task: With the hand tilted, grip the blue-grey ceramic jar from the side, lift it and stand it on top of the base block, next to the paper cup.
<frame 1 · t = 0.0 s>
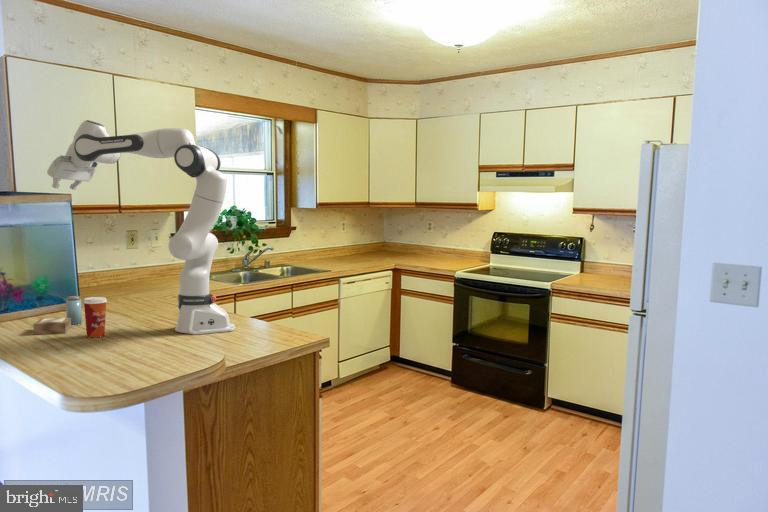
hand: (63, 188, 206), 54 cm above the counter, tool tilted 30°, fingers open, 8 cm apart
paper cup: (95, 336, 188), on the counter
base: (53, 331, 194), on the counter
jar: (74, 324, 206), on the counter
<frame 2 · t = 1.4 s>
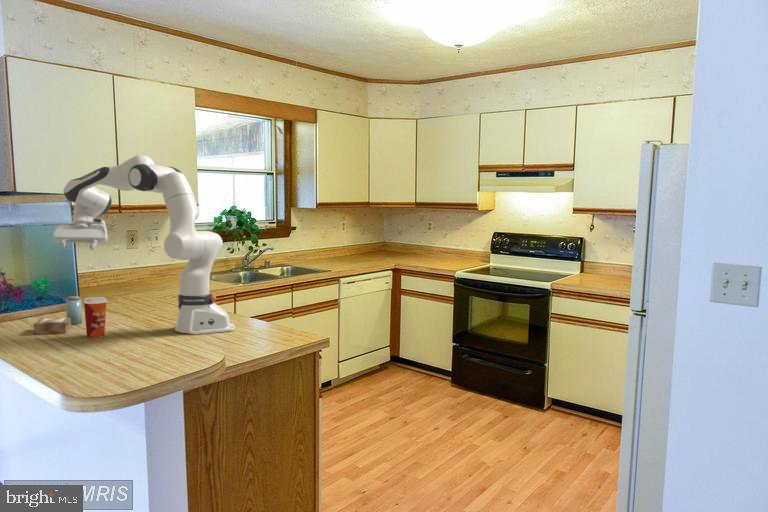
hand: (78, 248, 215), 30 cm above the counter, tool tilted 45°, fingers open, 8 cm apart
nothing on the counter moved.
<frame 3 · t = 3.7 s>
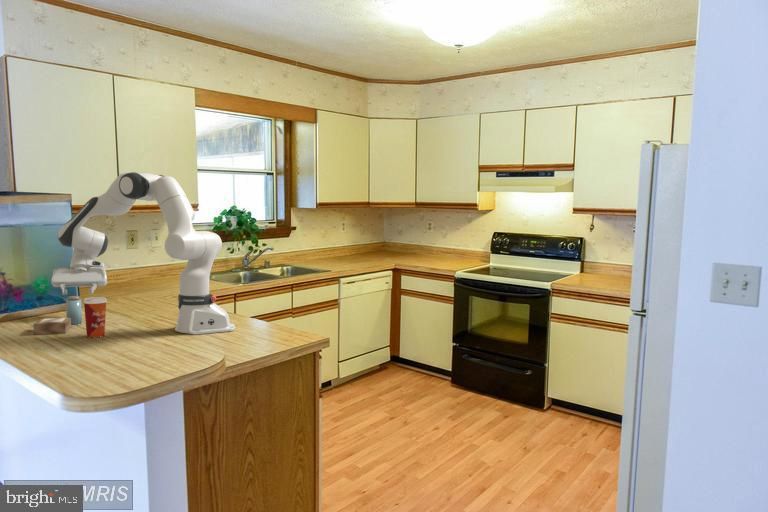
hand: (77, 293, 212), 11 cm above the counter, tool tilted 45°, fingers open, 8 cm apart
nothing on the counter moved.
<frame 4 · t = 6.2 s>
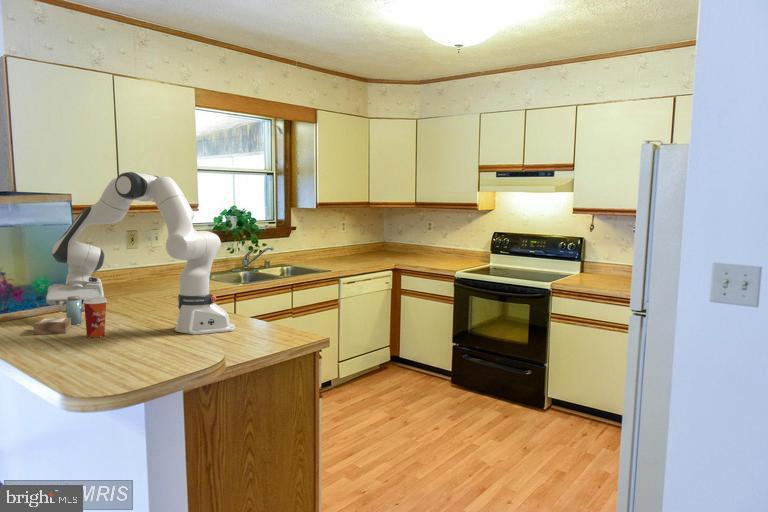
hand: (73, 311, 205), 5 cm above the counter, tool tilted 45°, fingers closed on jar, 5 cm apart
jar: (74, 324, 206), on the counter, touching gripper
everything else where it was.
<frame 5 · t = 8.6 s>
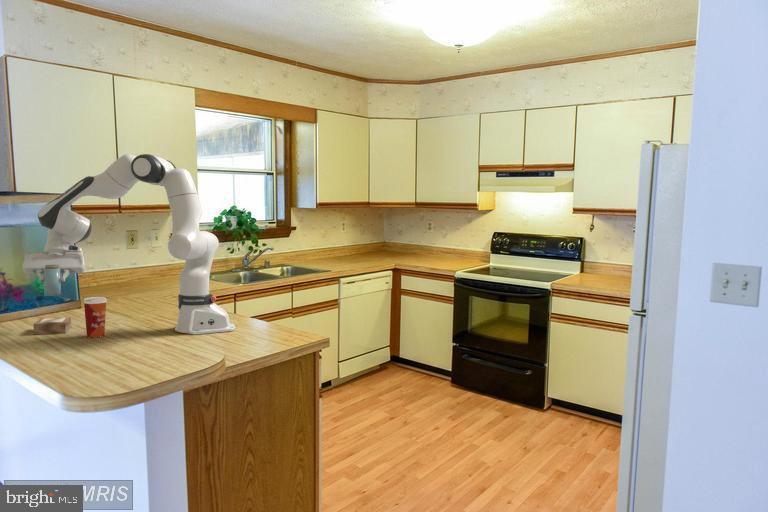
hand: (51, 280, 192), 19 cm above the counter, tool tilted 45°, fingers closed on jar, 5 cm apart
jar: (52, 294, 193), point 14 cm above the counter, touching gripper
everything else where it was.
when the fingers open (11 cm above the counter, at t = 11.0 s): jar drops 1 cm, resting on base.
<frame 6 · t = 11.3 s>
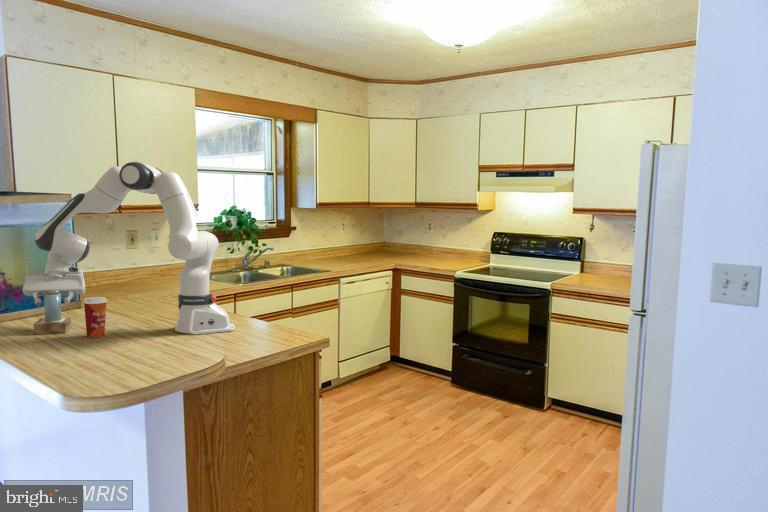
hand: (52, 302, 192), 11 cm above the counter, tool tilted 45°, fingers open, 8 cm apart
jar: (53, 320, 193), point 4 cm above the counter, touching base
everything else where it was.
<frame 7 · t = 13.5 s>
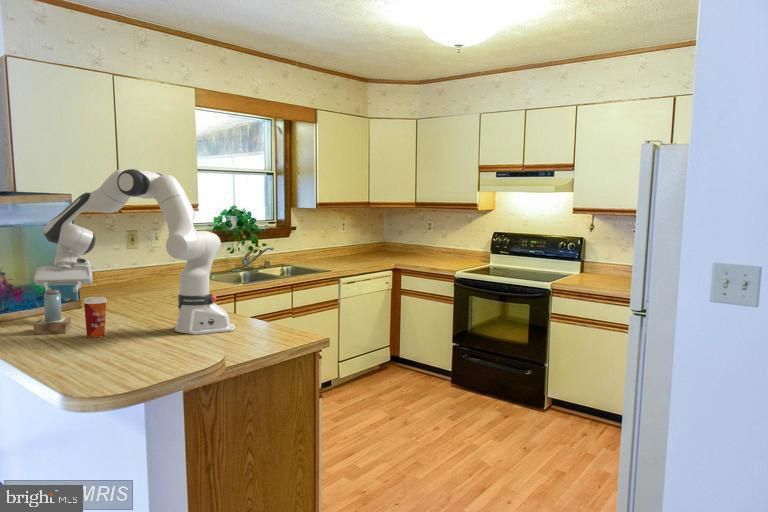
hand: (61, 291, 204), 13 cm above the counter, tool tilted 45°, fingers open, 8 cm apart
nothing on the counter moved.
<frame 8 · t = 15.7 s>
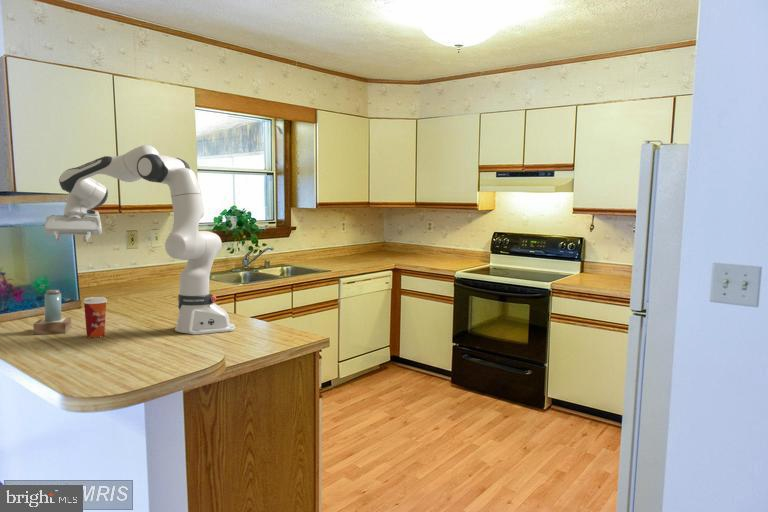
hand: (71, 240, 206), 33 cm above the counter, tool tilted 45°, fingers open, 8 cm apart
nothing on the counter moved.
at the end: jar inside the target area on the base (0.1 cm from its centre), point 4.2 cm above the base's base; jar tilted 1°; the gripper is holding nothing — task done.
